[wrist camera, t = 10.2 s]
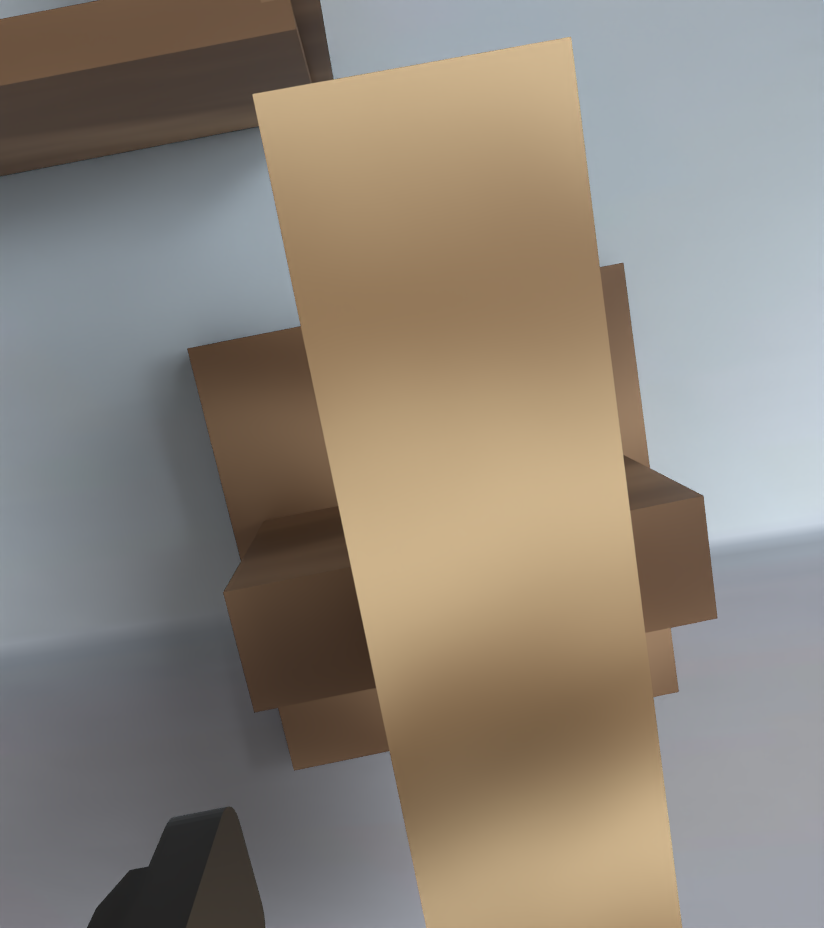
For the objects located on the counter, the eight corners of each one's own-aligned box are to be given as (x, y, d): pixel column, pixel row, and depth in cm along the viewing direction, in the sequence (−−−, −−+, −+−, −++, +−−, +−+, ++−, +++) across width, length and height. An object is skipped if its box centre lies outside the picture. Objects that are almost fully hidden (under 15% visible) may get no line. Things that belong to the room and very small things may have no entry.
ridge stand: (195, 347, 22) (112, 356, 15) (612, 265, 22) (720, 237, 15) (297, 752, 24) (266, 919, 17) (666, 677, 24) (779, 813, 18)
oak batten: (290, 166, 14) (252, 94, 10) (510, 126, 14) (570, 36, 10) (456, 984, 18) (482, 1196, 14) (628, 950, 18) (709, 1150, 14)
